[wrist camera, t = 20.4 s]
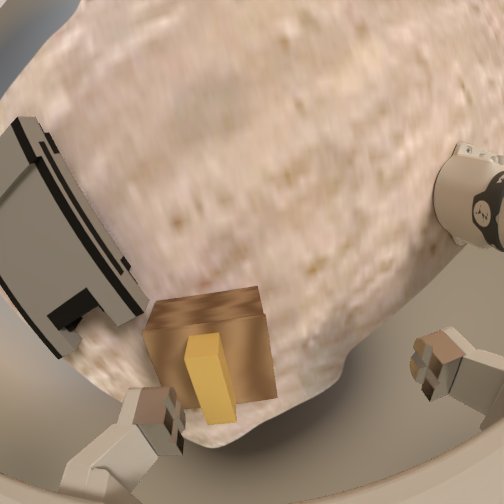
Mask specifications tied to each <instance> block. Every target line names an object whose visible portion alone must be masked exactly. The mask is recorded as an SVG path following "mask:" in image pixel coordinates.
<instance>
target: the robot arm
mask: <svg viewBox="0 0 504 504" xmlns="http://www.w3.org/2000/svg"><path fill="white" fill-rule="evenodd" d="M434 207H435V212H436V216H437V218H438V220H439V222H440V224H441V225H442V227H443V228H444V229H445V230H447V231H448V232H449V233H450V234H451V235H452V237H453V240H454V242H455V243H456V244H457V245H459V246H463V245H465V244H467V243H469V244H472V245H474V246H476V247H479V248H481V249H484V250H487V249H488V248H491V247H494V248H495V249H497V250H498V251H501V252H504V156H500V155H497V154H494V153H492V152H489V151H487V150H484V149H481V148H479V147H476V146H473V145H470V144H467V143H464V142H459V143H458V144H457V146H456V148H455V151H454V153H453V155H452V157H451V158H450V159H449V160H448V161H447V162H446V163H445V164H444V166H443V167H442V169H441V171H440V173H439V175H438V177H437V181H436V184H435V190H434ZM413 348H414V350H415V351H416V352H415V353H414V354H413V356H412V357H411V361H410V370H411V374H412V376H413V378H414V379H415V381H416V382H418V383H420V384H422V389H421V390H422V391H423V393H424V394H425V396H426V397H427V398H428V400H429V401H430V402H431V401H433V400H436V399H438V398H441V397H443V396H446V395H448V394H449V396H451V397H453V398H454V399H456V400H458V401H460V402H462V403H464V404H465V405H468V406H469V407H471V408H473V409H475V410H477V411H478V412H480V413H482V414H484V415H486V417H485V419H484V420H483V422H482V423H481V425H480V429H481V432H480V433H478V434H476V435H475V436H473V437H471V438H470V439H468V440H466V441H464V442H463V443H461V444H459V445H457V446H455V447H454V448H452V449H450V450H448V451H446V452H444V453H442V454H440V455H438V456H436V457H434V458H432V459H430V460H428V461H425V462H423V463H421V464H419V465H416V466H414V467H412V468H409V469H407V470H405V471H402V472H400V473H397V474H395V475H392V476H389V477H387V478H384V479H381V480H379V481H375V482H373V483H370V484H367V485H363V486H360V487H357V488H354V489H350V490H347V491H343V492H340V493H336V494H332V495H328V496H324V497H319V498H315V499H310V500H305V501H300V502H295V503H290V504H504V357H503V356H499V355H496V354H493V353H490V352H487V351H484V350H481V349H478V350H475V348H474V347H473V346H472V345H471V344H470V343H469V342H468V341H467V340H466V339H465V338H464V337H463V336H462V335H461V334H459V332H458V331H457V330H456V329H455V328H453V327H447V328H445V329H442V330H439V331H437V332H434V333H431V334H428V335H426V336H423V337H420V338H417V339H416V341H415V342H414V346H413ZM176 398H177V393H176V391H175V389H174V387H143V388H129V389H128V390H127V392H126V395H125V398H124V401H123V405H122V408H121V411H120V414H119V418H118V421H117V424H112V425H111V426H110V427H109V428H107V429H106V430H105V431H104V432H103V433H102V434H101V435H99V437H97V438H96V439H95V440H94V441H92V442H91V443H90V444H89V445H88V446H86V447H85V448H84V449H83V450H82V451H81V452H79V453H78V454H77V455H76V456H75V457H73V458H72V459H71V460H70V461H69V462H68V463H67V466H66V469H65V471H64V475H63V478H62V481H61V484H60V487H59V490H58V493H57V492H54V491H50V490H47V489H44V488H40V487H38V486H35V485H32V484H29V483H26V482H23V481H21V480H18V479H15V478H13V477H10V476H8V475H5V474H3V473H0V504H142V503H141V502H140V501H139V500H138V499H137V498H135V497H134V496H133V495H132V494H131V492H132V490H133V489H134V488H135V487H136V485H137V484H138V483H139V482H140V480H141V479H142V478H143V477H144V475H145V474H146V473H147V472H148V470H149V469H150V468H151V466H152V465H153V464H154V462H155V461H156V460H157V459H158V456H175V455H176V456H178V455H183V445H184V438H183V436H182V435H181V433H182V432H183V431H184V430H185V423H186V421H185V413H184V409H183V407H182V404H181V403H180V402H178V401H177V400H176Z"/></svg>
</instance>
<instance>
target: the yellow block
mask: <svg viewBox="0 0 504 504" xmlns="http://www.w3.org/2000/svg"><path fill="white" fill-rule="evenodd" d="M184 360H185V363H186V366H187V369H188V372H189V375H190V378H191V381H192V384H193V387H194V390H195V392H196V395H197V398H198V401H199V403H200V406H201V409H202V411H203V414H204V417H205V419H206V422H207V424H208V425H214V424H224V423H234V422H237V420H236V398H235V394H234V390H233V387H232V383H231V379H230V375H229V371H228V367H227V363H226V359H225V355H224V351H223V347H222V342H221V338H220V334H219V332H218V333H211V334H203V335H195V336H189V337H188V342H187V347H186V352H185V357H184Z"/></svg>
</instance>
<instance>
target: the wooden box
mask: <svg viewBox="0 0 504 504" xmlns="http://www.w3.org/2000/svg"><path fill="white" fill-rule="evenodd" d="M261 314H264V313H263V309H262V304H261V300H260V295H259V290H258V286H254V287H248V288H242V289H236V290H229V291H223V292H216V293H209V294H203V295H196V296H189V297H182V298H175V299H168V300H160V301H156V302H155V305H154V308H153V310H152V313H151V315H150V318H149V320H148V323H147V326H146V328H145V330H151V329H160V328H169V327H177V326H185V325H193V324H201V323H208V322H215V321H222V320H229V319H236V318H242V317H249V316H255V315H261Z"/></svg>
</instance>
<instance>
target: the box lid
mask: <svg viewBox="0 0 504 504" xmlns="http://www.w3.org/2000/svg"><path fill="white" fill-rule="evenodd" d="M218 332H219V334H220V338H221V342H222V347H223V351H224V355H225V359H226V363H227V367H228V371H229V375H230V379H231V383H232V387H233V390H234V394H235V398H236V404H240V403H248V402H255V401H261V400H268V399H274V398H278V397H277V390H276V383H275V376H274V369H273V362H272V355H271V348H270V341H269V334H268V328H267V321H266V315H265V314H261V315H255V316H249V317H242V318H236V319H229V320H222V321H215V322H208V323H201V324H193V325H185V326H177V327H169V328H160V329H151V330H143V332H142V336H143V339H144V342H145V345H146V347H147V350H148V353H149V355H150V358H151V361H152V363H153V366H154V368H155V371H156V373H157V376H158V378H159V381H160V383H161V385H162V387H174V389H175V391H176V393H177V398H176V400H177V401H178V402H180V403H181V404H182V407H183V409H191V408H201V406H200V403H199V401H198V398H197V395H196V392H195V390H194V387H193V384H192V381H191V378H190V375H189V372H188V369H187V366H186V363H185V360H184V357H185V352H186V347H187V342H188V337H189V336H195V335H203V334H211V333H218Z"/></svg>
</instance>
